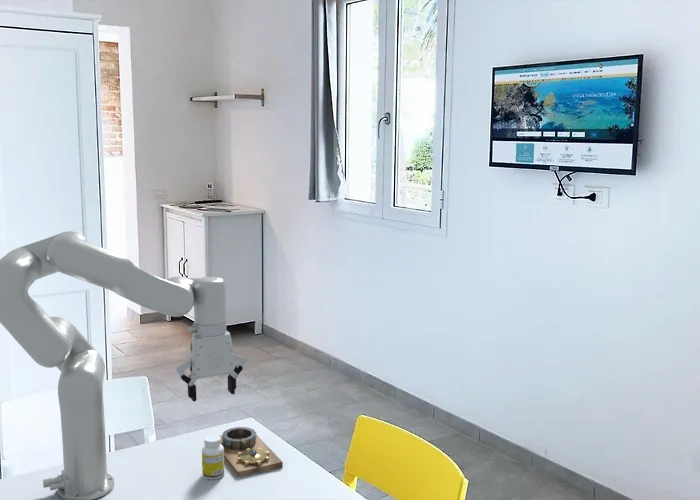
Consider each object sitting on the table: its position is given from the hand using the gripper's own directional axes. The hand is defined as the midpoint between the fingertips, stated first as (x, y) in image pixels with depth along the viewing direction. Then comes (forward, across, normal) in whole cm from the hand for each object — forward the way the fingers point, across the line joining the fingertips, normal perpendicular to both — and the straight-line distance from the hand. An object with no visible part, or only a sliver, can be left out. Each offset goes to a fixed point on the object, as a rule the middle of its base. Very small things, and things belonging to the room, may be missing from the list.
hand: (212, 395), depth 173 cm
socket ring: (+19, +11, +11) cm, 25 cm away
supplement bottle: (+21, 0, 0) cm, 21 cm away
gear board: (+21, +11, +7) cm, 24 cm away
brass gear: (+19, +11, +1) cm, 22 cm away
